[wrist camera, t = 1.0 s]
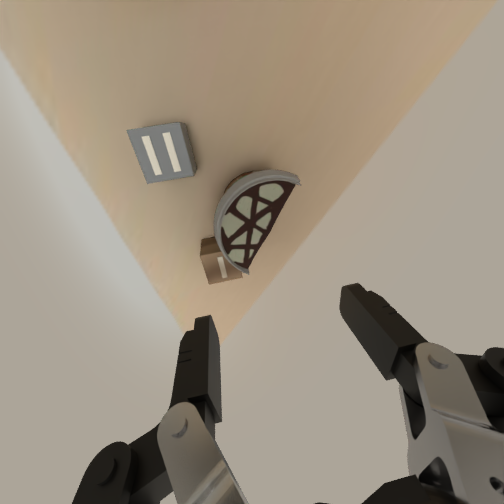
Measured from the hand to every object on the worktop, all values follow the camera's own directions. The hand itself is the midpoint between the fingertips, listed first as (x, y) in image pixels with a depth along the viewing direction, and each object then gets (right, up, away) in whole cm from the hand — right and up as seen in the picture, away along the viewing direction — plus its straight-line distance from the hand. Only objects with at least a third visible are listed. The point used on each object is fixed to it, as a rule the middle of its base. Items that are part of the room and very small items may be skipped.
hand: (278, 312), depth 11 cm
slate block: (-11, +15, +15) cm, 24 cm away
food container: (-4, +11, +19) cm, 22 cm away
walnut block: (-6, +3, +23) cm, 24 cm away
